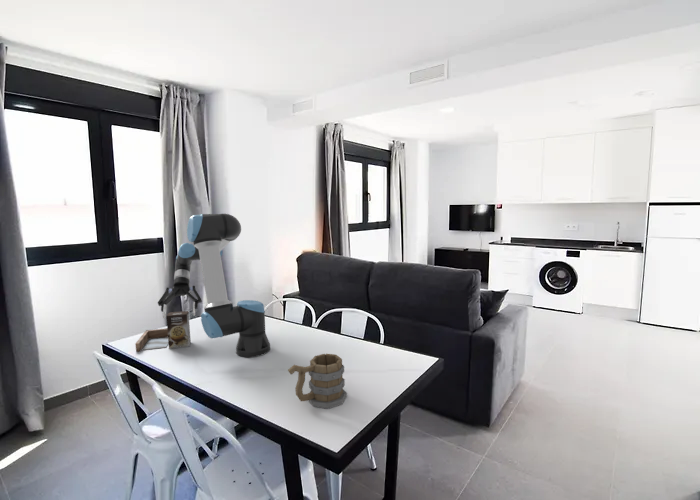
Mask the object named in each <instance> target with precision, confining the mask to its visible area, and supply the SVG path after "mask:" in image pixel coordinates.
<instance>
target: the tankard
mask: <svg viewBox="0 0 700 500" xmlns="http://www.w3.org/2000/svg"><path fill="white" fill-rule="evenodd" d="M287 372H288V373H289V374H290V375H293V374H294V373H295V372H297V373H298V374H297V375H298V376H297V382H296V385H295V396H297V398H298V400H299V401H300V402H307V401H308V402H309V403H310V404H311V405H312V407H315V408H319V409H320V408H322V409H329V410H330V409H331V408H335V407H338V406H342V405H343V403H344V402H345V400H346V399H347V397H348V393H347V391H346V390H345V389H344V387H345V385H346V384H345V383H346V382H345V381H346V380H345V378H344V377H343V375H344V373H345V365H344V364H343V359H342V358H341V357H340V356H339V355H337V354H333V353H322V354H317V355H315V356H314V357H312V358H311V360H309V365H308V366H307V365H306V366H304V365H303V366H301V365H296V364H293V365H291V367H289V368H288V369H287ZM306 373H308V375H309V376H310V379H309V381H308V388H309V390H310V391H309V392H308V393H304V392H303V389H304V384H305V381H306Z"/></svg>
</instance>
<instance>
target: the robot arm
mask: <svg viewBox="0 0 700 500" xmlns="http://www.w3.org/2000/svg"><path fill="white" fill-rule="evenodd" d="M187 222H188V223H187V229H186V231H187V232H186V233H187V236H186V237H187V240H188V242H184V243H181V245H180V246H179V249H178V251H177V255H176V257H175V268H174V276H173V285H172V288H170V287H166V288H165V291H164V293H163V294H162V296H161V297H160V299H159V300H158V301H157V305H158V306H159V307H160V311H161V313H162V319H165V320H166V319H167V317H166V316H167V307H168V306H167V305H169V303H170V302H172V300H174V299H175V298H176V297H184V296H187V297H188V298H189V299H190V300H191V301H192V302H193V303H192V316H193V317H195V316H196V310H197V309H199V303H202V302H203V301H202V298H201V296H200V294H199V293H198V291H197V290H196V286H195V285H192V286H191V287H190V283H191V282H190V279H191V278H190V277H191V276H190V275H191V265H192V262H194V261H200V268H201V273H202V278H203V284H204V285H203V286H204V292H205V298H206V305H205V306H204V311H203V312H202V313H201V314H200V317H201V319H200V321H201V324H202V327H203V330H204V333H205V334H206V336H207V337H208V338H210V339H218V338H223V337H226V336H231V335H235V334H238V335H239V336H238V340H237V343H236V349H235V350H236V351H235V352H236V354H237V356H238V357H244V358H255V357H260V356H263V355H265V354H268V353H269V352H270V350H271V343H270V340H269V338H268V335H267V333H266V318H265V317H266V316H265V312H266V311H265V305H264V303H263V302H261V301H258V300H252V299H249V300H248V299H245V300H239V301H237V302H236V306H234V304H233V302H232V301H231V300H229V298H228V291H227V285H226V280H225V279H226V278H225V273H224V268H223V262H222V256H223V250H224V249H225V247H227V246H228V245H229V243H231V242H232V241H235V240H237V238H238V237H240V235H241V232H242V226H241V223H240V221H239V220H238V219H237V218H236V217H235V216H234V215H231V214H229V213H201V214H193V215H192V216H190V217H189V219H188V221H187ZM189 242H191V243H189ZM190 291H191V292H193V294H194V295H195V296H194V295H192V293H191V292H190ZM170 293H171V294H170ZM169 294H170V295H169Z"/></svg>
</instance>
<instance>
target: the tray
mask: <svg viewBox="0 0 700 500" xmlns="http://www.w3.org/2000/svg"><path fill="white" fill-rule="evenodd" d="M134 344H135V350H136V351H135V352H136V353H138V352H141V351H147V350H148V351H149V350H156V349H165V348H167V347H168V346H169V343H168V330H167V327H166V328H157V329H156V328H155V329H147V330H146V329H145V331H144V332H143V333H142V335H141V336H140V337H139V338H138V339H137V341H136V342H135V343H134Z"/></svg>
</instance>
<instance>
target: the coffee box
mask: <svg viewBox="0 0 700 500" xmlns="http://www.w3.org/2000/svg"><path fill="white" fill-rule="evenodd" d="M166 328H167V330H168V350H169V349H178V348H186V347H190V346H191V343H192V342H191V341H192V340H191V329H190V311H189V310H185V311H173V312H172V311H171V312H168V313H166Z"/></svg>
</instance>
